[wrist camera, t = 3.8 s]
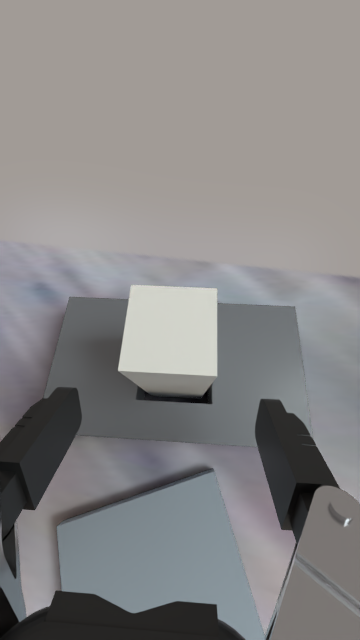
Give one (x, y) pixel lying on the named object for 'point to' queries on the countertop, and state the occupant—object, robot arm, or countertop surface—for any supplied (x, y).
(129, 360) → the tall cream white pillar
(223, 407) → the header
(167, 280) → the countertop surface
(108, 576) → the mat
